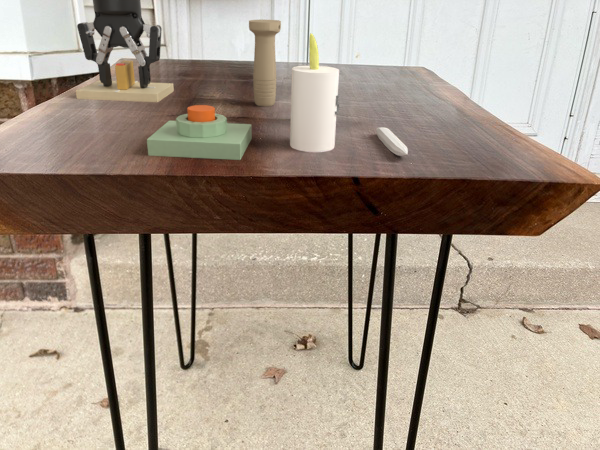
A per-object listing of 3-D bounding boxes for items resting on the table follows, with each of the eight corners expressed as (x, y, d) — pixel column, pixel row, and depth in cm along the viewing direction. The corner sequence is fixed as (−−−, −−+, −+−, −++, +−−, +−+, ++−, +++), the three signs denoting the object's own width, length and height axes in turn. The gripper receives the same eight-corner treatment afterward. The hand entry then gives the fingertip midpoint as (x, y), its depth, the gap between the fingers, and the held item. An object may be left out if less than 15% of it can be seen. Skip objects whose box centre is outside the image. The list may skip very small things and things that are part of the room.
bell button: (184, 123, 69) (184, 110, 68) (191, 117, 72) (191, 104, 72) (212, 124, 69) (211, 111, 68) (217, 118, 72) (217, 105, 72)
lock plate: (77, 108, 90) (74, 89, 89) (101, 96, 100) (99, 79, 98) (158, 111, 90) (156, 93, 88) (174, 99, 99) (173, 82, 98)
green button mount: (148, 155, 68) (145, 125, 66) (170, 135, 77) (168, 107, 75) (240, 160, 67) (240, 129, 66) (251, 139, 76) (251, 111, 75)
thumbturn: (126, 83, 96) (123, 59, 94) (135, 83, 96) (132, 59, 94) (117, 89, 91) (114, 64, 89) (126, 89, 91) (124, 64, 89)
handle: (245, 116, 89) (243, 21, 82) (257, 108, 94) (257, 19, 88) (272, 119, 88) (273, 23, 81) (283, 111, 93) (284, 20, 87)
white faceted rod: (399, 163, 68) (401, 151, 68) (373, 134, 81) (375, 123, 80) (411, 163, 69) (413, 151, 68) (383, 134, 81) (385, 123, 80)
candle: (331, 154, 71) (338, 36, 65) (284, 149, 72) (287, 33, 66) (339, 142, 76) (346, 32, 70) (295, 137, 78) (299, 30, 71)
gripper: (165, -17, 89) (172, 84, 96) (81, -20, 90) (94, 81, 97) (151, -17, 82) (159, 92, 89) (61, -20, 83) (76, 88, 90)
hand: (125, 86), depth 93 cm, fingers closed on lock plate, 6 cm apart
